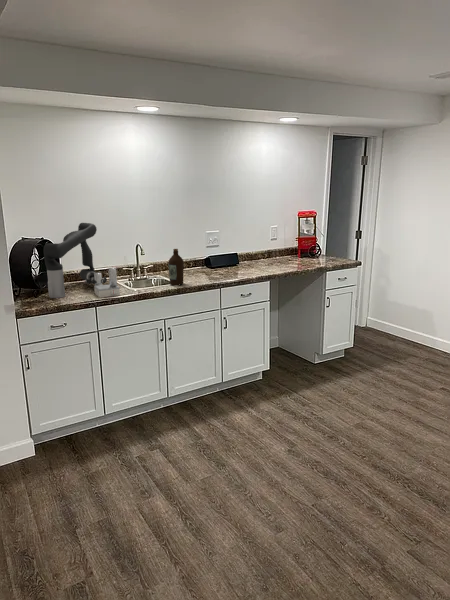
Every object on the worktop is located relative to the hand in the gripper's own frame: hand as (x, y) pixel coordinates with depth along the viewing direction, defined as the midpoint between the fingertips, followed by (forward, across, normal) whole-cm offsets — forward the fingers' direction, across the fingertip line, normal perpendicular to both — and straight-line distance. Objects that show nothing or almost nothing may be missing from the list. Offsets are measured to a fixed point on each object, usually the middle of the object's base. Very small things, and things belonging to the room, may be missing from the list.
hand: (99, 282), depth 295 cm
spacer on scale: (+12, +6, +2) cm, 13 cm away
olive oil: (+3, +53, +7) cm, 53 cm away
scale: (+9, +2, +6) cm, 11 cm away
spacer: (-2, 0, +6) cm, 7 cm away
